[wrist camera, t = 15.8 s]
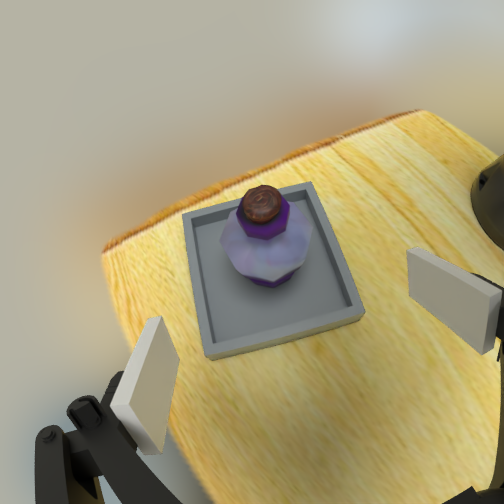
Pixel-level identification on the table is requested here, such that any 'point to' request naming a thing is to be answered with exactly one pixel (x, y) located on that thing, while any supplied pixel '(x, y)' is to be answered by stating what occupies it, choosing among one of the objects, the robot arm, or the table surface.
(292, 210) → the potion bottle
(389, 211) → the table surface
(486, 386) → the table surface
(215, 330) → the tray
